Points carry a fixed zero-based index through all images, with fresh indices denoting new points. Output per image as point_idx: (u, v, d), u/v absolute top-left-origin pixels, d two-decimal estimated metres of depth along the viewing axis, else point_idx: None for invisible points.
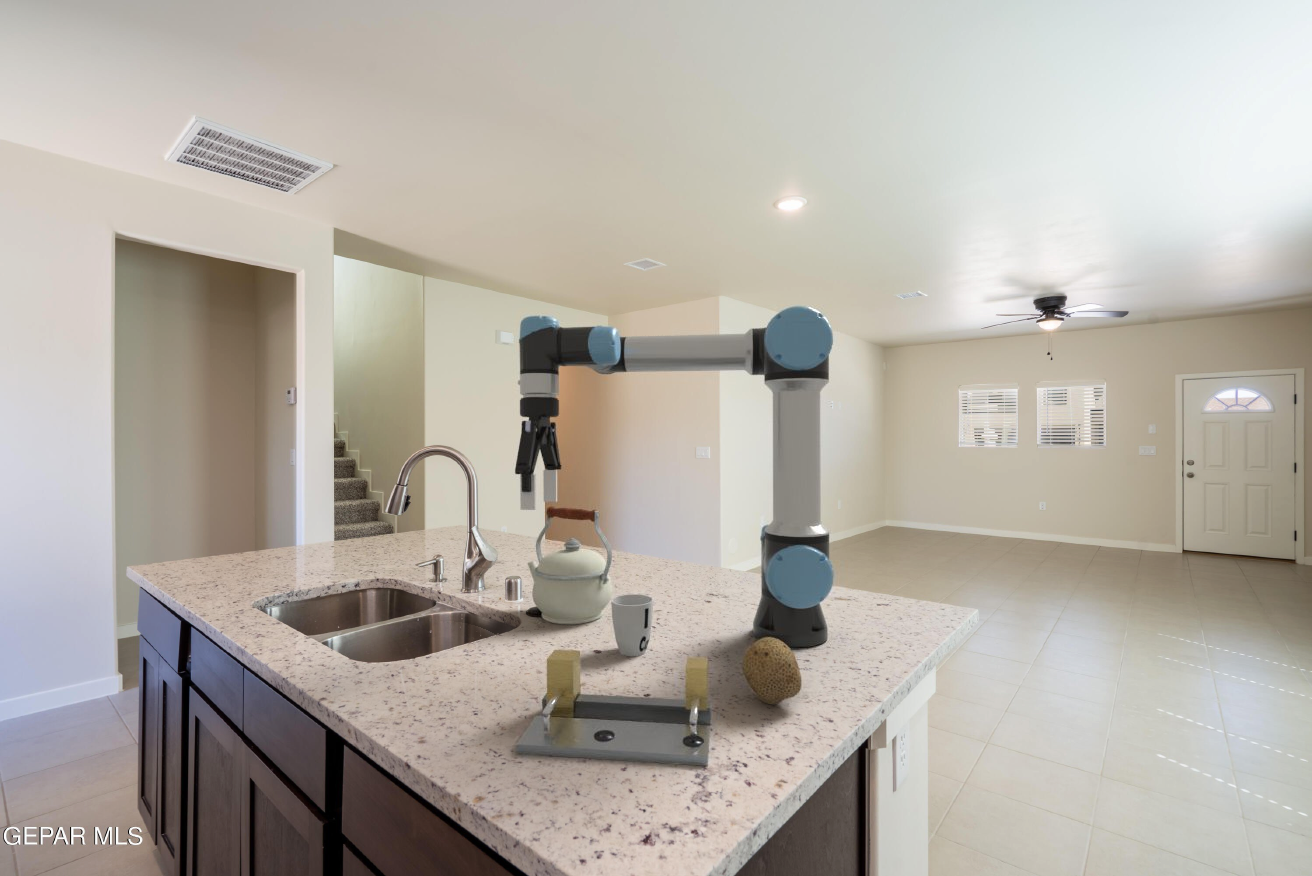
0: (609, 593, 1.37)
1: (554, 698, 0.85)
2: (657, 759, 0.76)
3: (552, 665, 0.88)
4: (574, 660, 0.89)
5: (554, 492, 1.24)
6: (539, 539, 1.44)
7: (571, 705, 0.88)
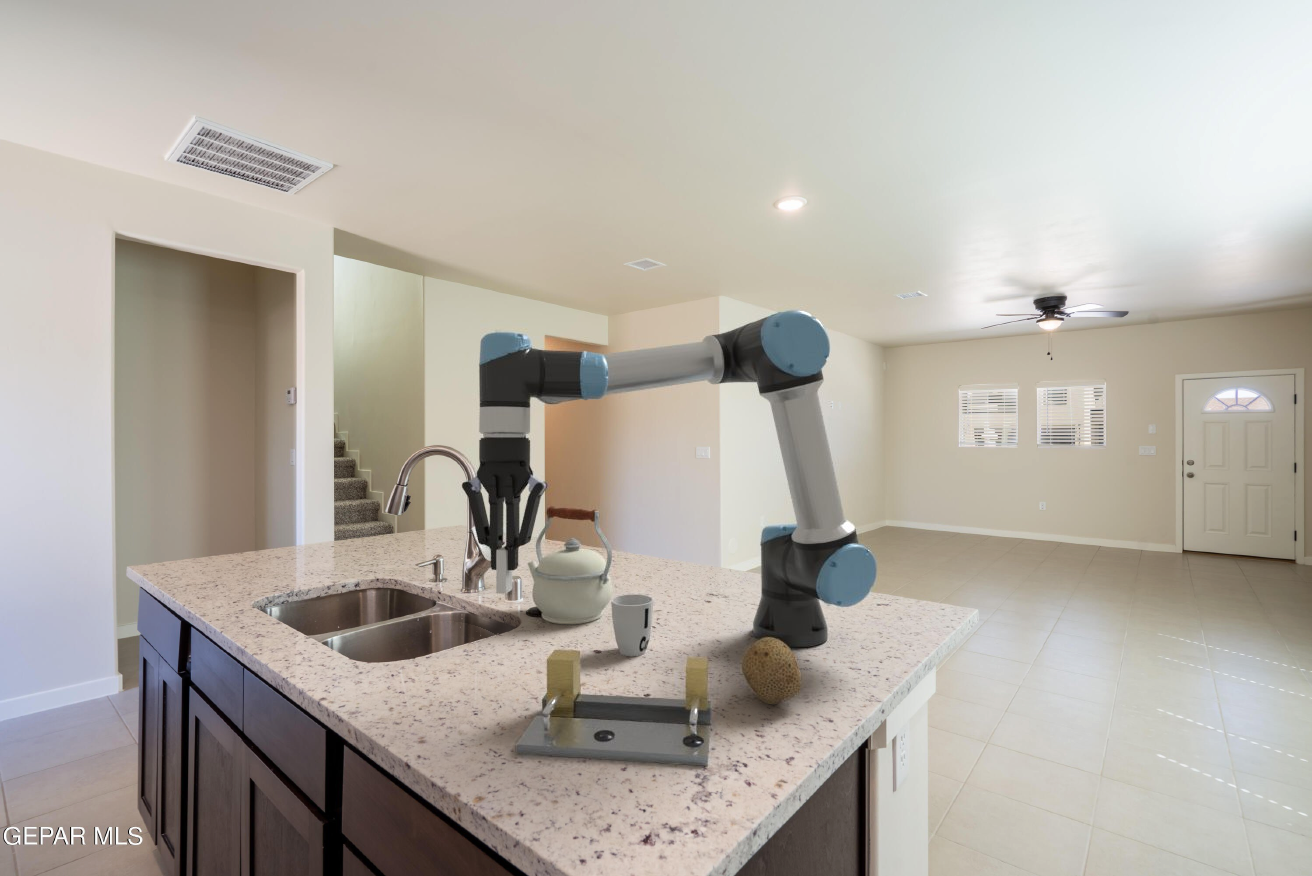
0: (609, 593, 1.37)
1: (554, 698, 0.85)
2: (657, 759, 0.76)
3: (552, 665, 0.88)
4: (574, 660, 0.89)
5: None
6: (539, 539, 1.44)
7: (571, 705, 0.88)
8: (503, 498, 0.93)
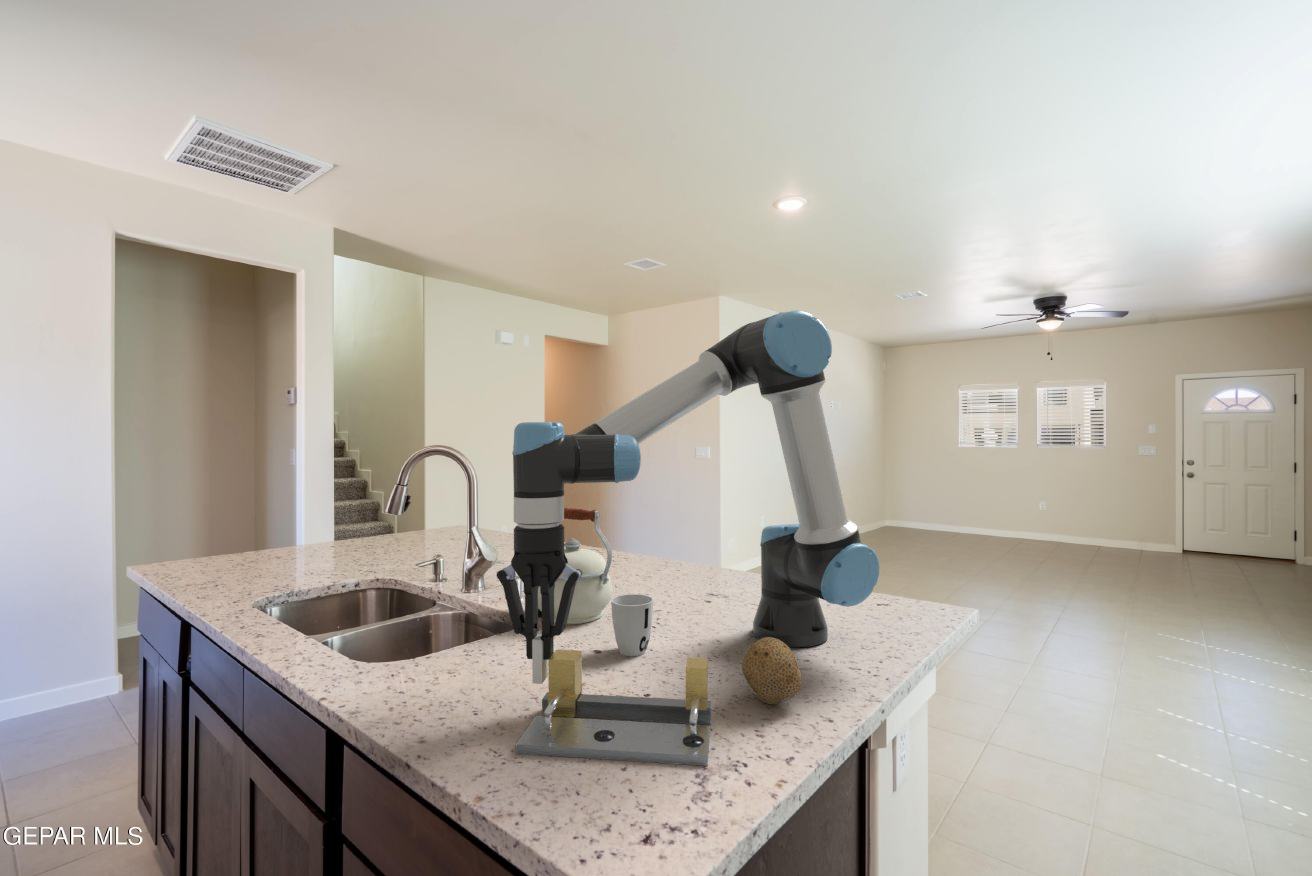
0: (609, 593, 1.37)
1: (556, 698, 0.85)
2: (657, 759, 0.76)
3: (554, 666, 0.88)
4: (576, 660, 0.89)
5: None
6: None
7: (573, 705, 0.88)
8: (537, 585, 0.92)
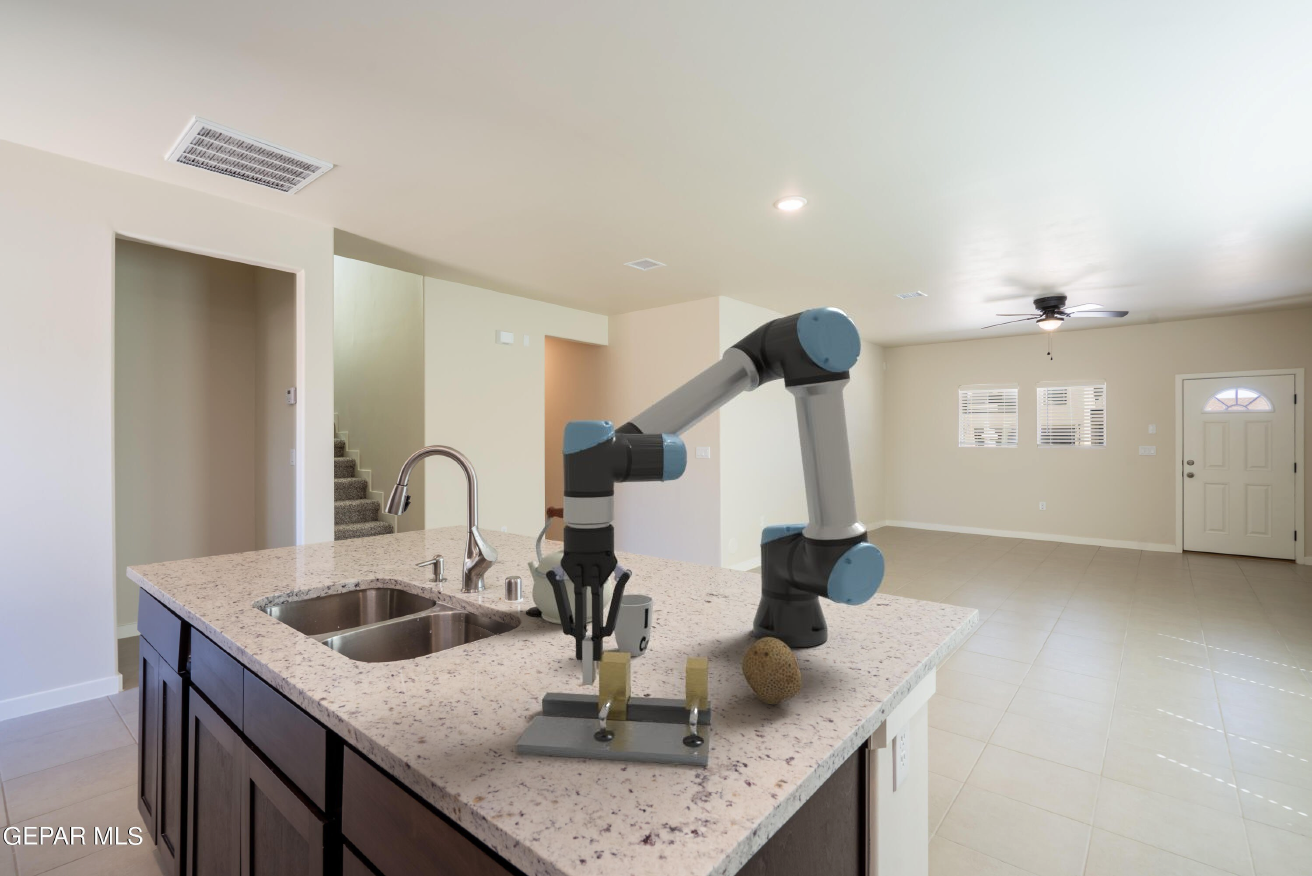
0: (609, 593, 1.37)
1: (608, 701, 0.84)
2: (657, 759, 0.76)
3: (604, 668, 0.87)
4: (626, 662, 0.88)
5: None
6: (539, 539, 1.44)
7: (624, 708, 0.87)
8: (586, 585, 0.91)
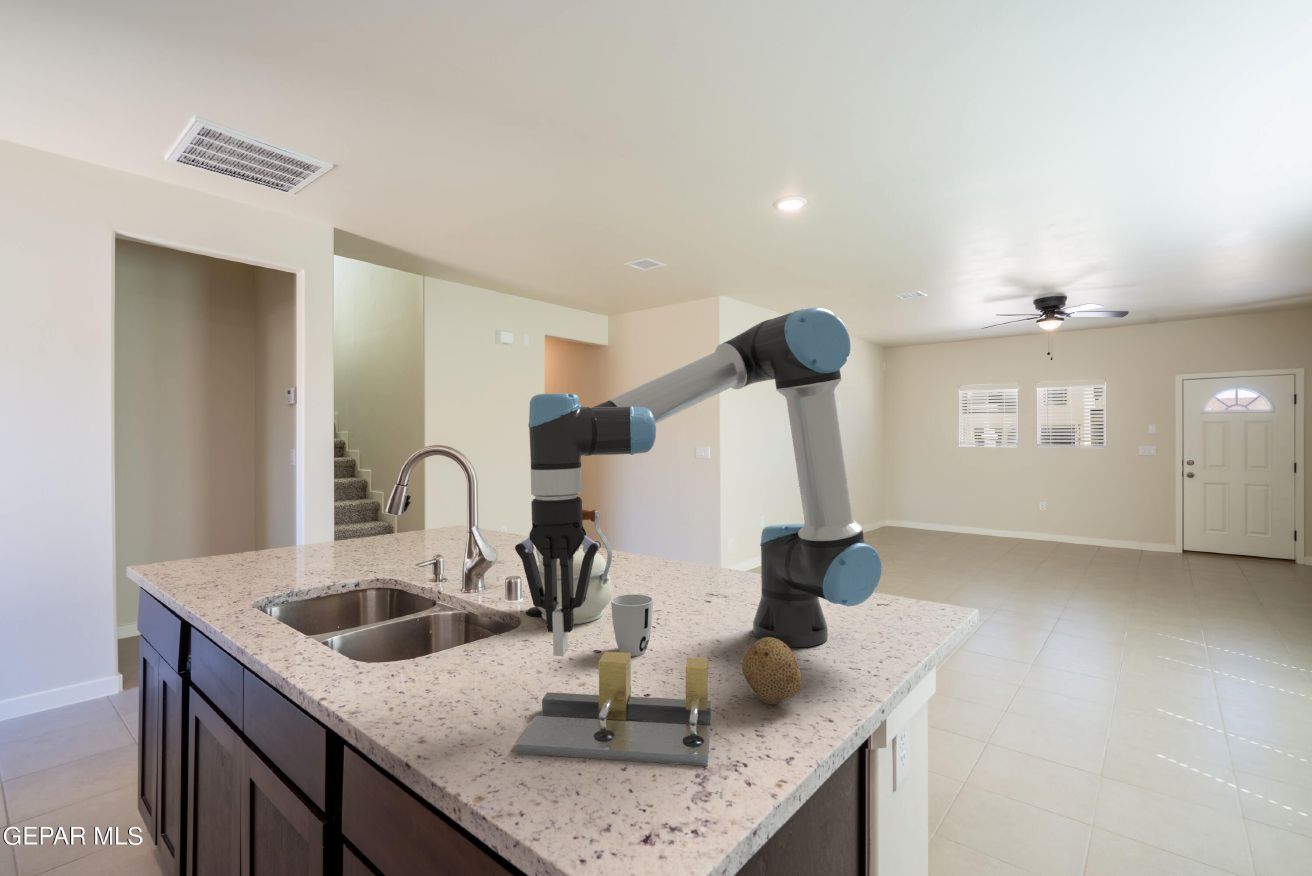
0: (609, 593, 1.37)
1: (608, 701, 0.84)
2: (657, 759, 0.76)
3: (604, 668, 0.87)
4: (626, 662, 0.88)
5: None
6: None
7: (624, 708, 0.87)
8: (556, 558, 0.92)
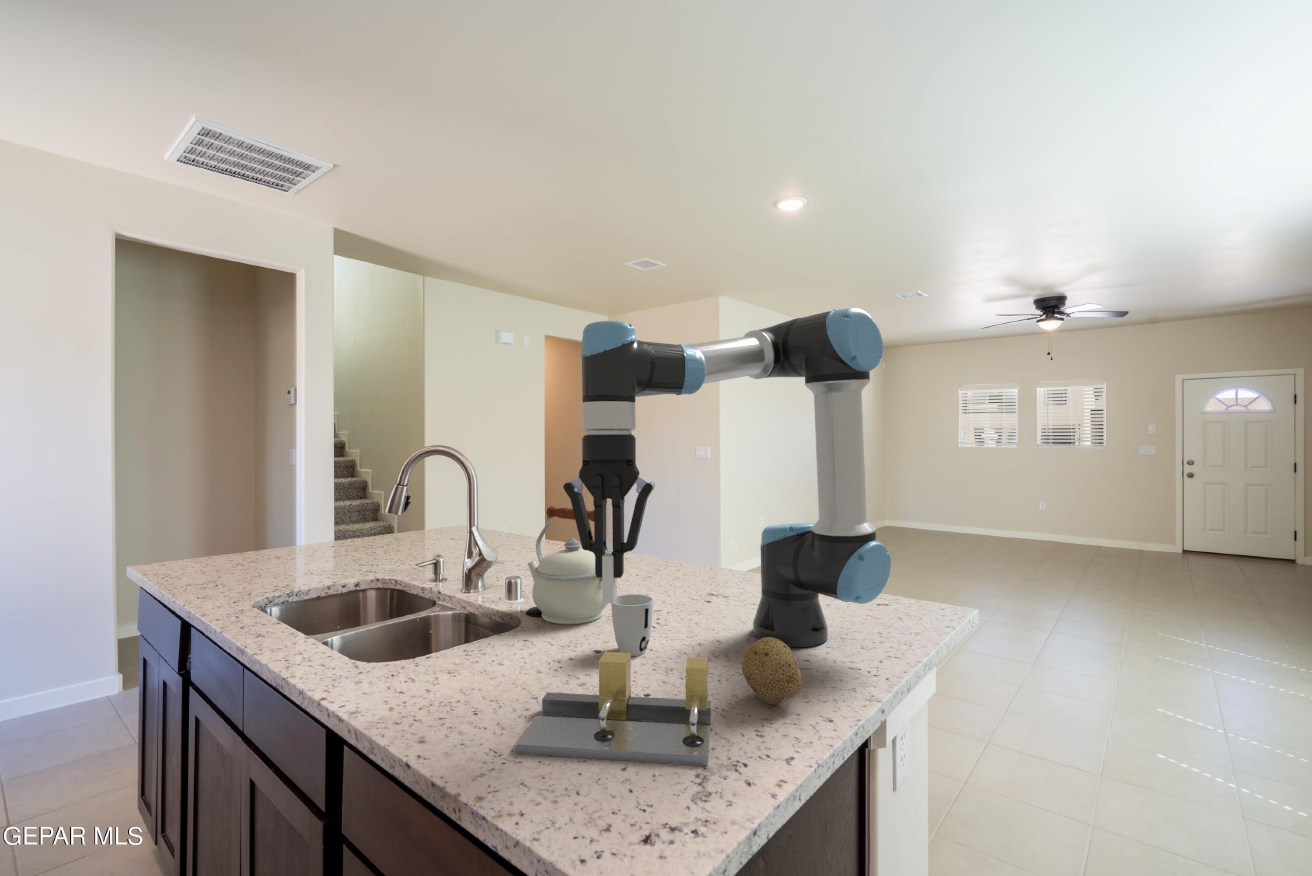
0: None
1: (608, 701, 0.84)
2: (657, 759, 0.76)
3: (604, 668, 0.87)
4: (626, 662, 0.88)
5: None
6: (539, 539, 1.44)
7: (624, 708, 0.87)
8: (606, 500, 0.86)
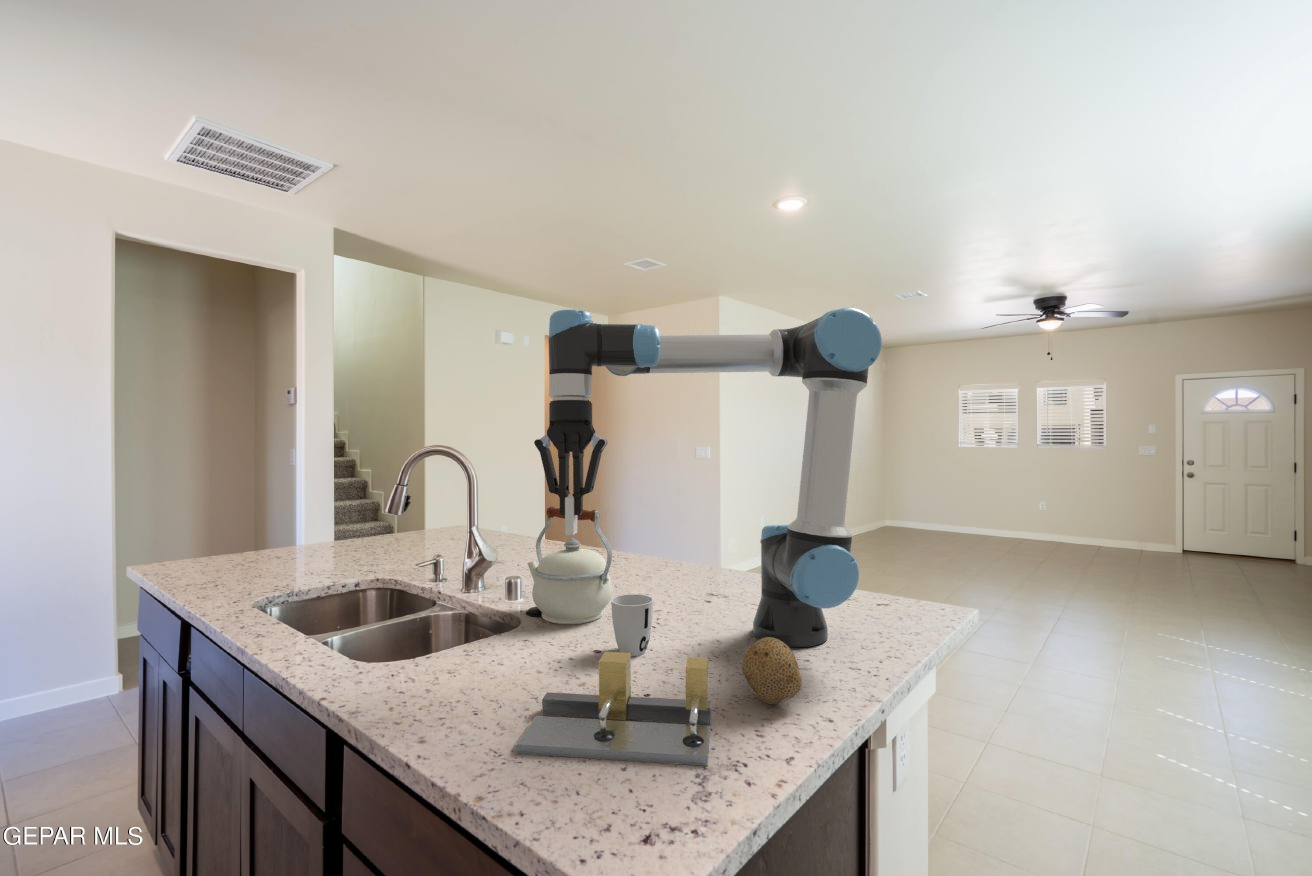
0: (609, 593, 1.37)
1: (608, 701, 0.84)
2: (657, 759, 0.76)
3: (604, 668, 0.87)
4: (626, 662, 0.88)
5: None
6: (539, 539, 1.44)
7: (624, 708, 0.87)
8: (569, 454, 1.07)
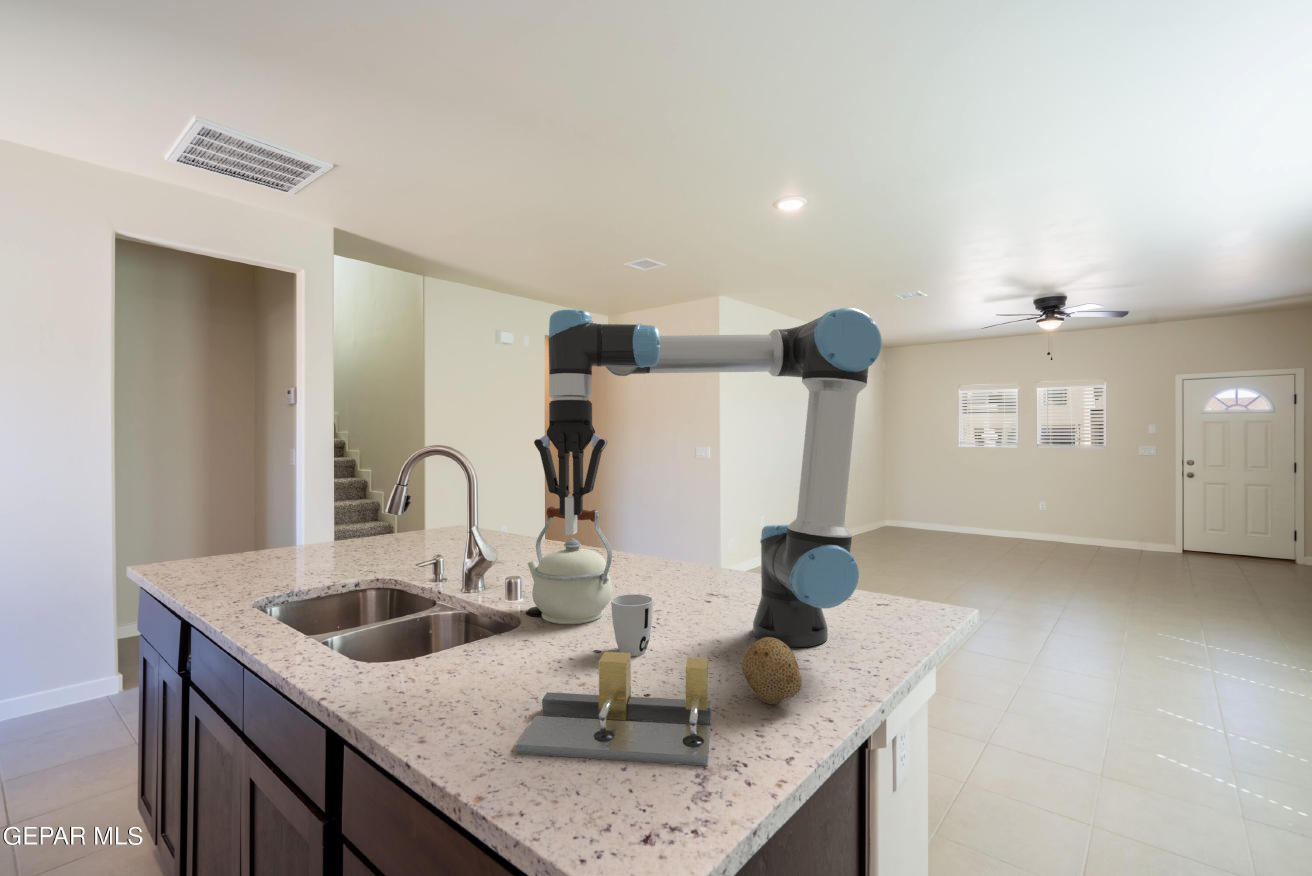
0: (609, 593, 1.37)
1: (608, 701, 0.84)
2: (657, 759, 0.76)
3: (604, 668, 0.87)
4: (626, 662, 0.88)
5: None
6: (539, 539, 1.44)
7: (624, 708, 0.87)
8: (569, 454, 1.07)
